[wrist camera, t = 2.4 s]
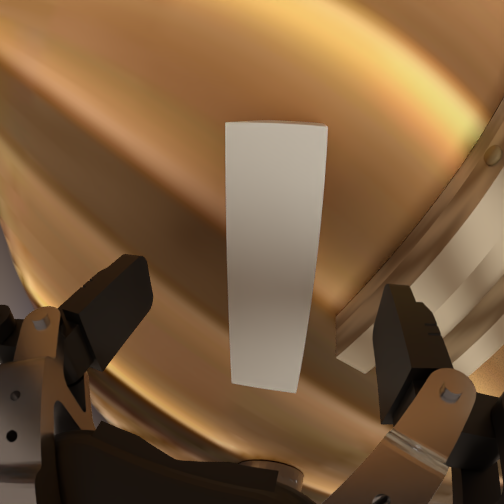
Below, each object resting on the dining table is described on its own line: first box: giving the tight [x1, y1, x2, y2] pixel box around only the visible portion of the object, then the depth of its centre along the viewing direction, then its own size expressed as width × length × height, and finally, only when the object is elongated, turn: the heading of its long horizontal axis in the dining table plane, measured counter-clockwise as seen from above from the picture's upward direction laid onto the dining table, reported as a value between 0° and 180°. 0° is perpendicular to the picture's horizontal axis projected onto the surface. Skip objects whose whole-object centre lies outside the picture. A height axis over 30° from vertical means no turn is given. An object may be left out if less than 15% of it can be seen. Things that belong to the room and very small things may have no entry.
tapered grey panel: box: [225, 120, 328, 393], centre depth 14 cm, size 11×3×8 cm, turn 179°
